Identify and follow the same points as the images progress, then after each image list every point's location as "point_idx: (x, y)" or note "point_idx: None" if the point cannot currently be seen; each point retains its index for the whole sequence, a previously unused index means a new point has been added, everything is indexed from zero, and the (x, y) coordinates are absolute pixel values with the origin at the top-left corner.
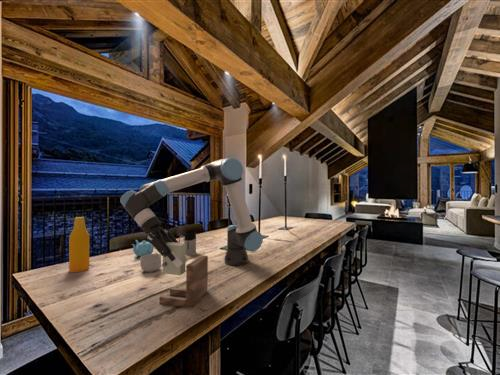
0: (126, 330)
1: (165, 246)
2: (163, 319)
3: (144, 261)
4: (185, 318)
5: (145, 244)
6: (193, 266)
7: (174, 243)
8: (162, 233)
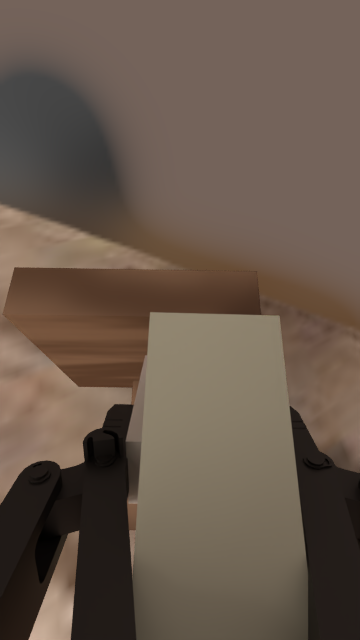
0: None
1: (353, 541)
2: (336, 426)
3: None
4: (299, 351)
5: None
6: (256, 272)
7: (199, 461)
8: None
